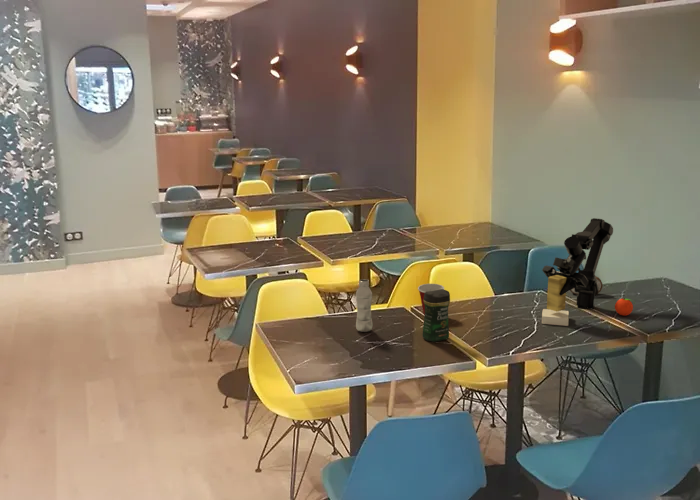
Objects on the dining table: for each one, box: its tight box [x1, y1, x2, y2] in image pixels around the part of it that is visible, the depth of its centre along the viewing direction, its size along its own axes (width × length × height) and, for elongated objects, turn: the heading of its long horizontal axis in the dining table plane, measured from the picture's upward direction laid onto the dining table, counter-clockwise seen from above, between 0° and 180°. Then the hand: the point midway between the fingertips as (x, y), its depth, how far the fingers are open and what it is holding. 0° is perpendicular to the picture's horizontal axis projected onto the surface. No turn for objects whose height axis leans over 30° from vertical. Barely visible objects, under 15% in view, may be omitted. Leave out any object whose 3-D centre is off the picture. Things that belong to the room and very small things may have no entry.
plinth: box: [541, 308, 570, 327], centre depth 284 cm, size 10×10×3 cm
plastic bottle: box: [355, 278, 373, 333], centre depth 272 cm, size 6×7×20 cm
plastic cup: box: [417, 283, 445, 316], centre depth 291 cm, size 11×11×12 cm
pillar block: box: [546, 275, 567, 311], centre depth 281 cm, size 5×5×13 cm
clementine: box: [614, 298, 635, 316], centre depth 289 cm, size 8×7×7 cm
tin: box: [569, 276, 603, 295], centre depth 320 cm, size 15×3×8 cm, turn 84°
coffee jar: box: [421, 288, 451, 343], centre depth 263 cm, size 10×8×19 cm
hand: (554, 293), depth 281 cm, fingers closed on pillar block, 5 cm apart
